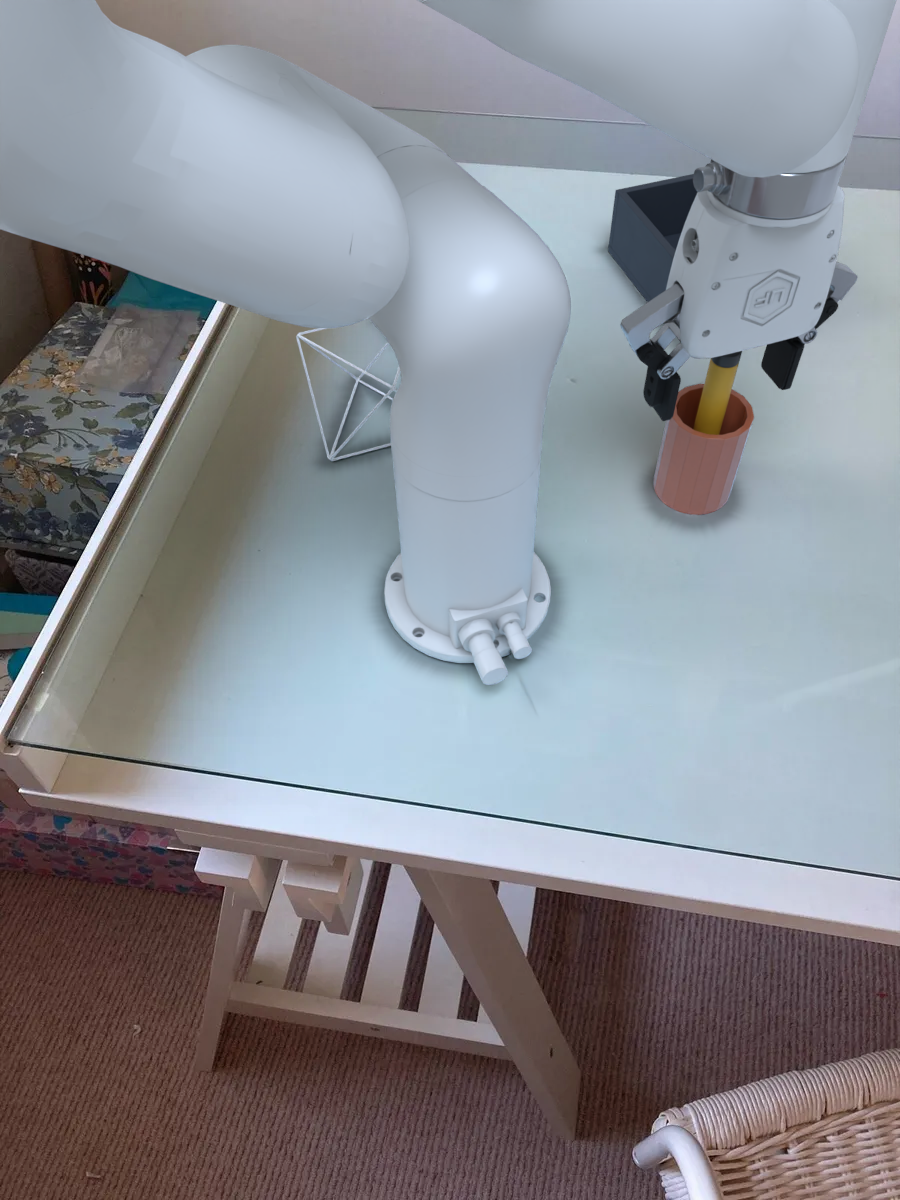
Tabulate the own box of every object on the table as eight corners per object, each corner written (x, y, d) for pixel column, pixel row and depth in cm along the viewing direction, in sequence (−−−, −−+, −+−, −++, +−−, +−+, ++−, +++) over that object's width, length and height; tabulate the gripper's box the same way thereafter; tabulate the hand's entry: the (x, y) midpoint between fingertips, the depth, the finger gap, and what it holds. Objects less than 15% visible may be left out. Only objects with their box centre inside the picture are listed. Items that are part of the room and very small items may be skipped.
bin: (805, 314, 94) (826, 252, 88) (680, 344, 91) (693, 282, 86) (723, 225, 103) (737, 164, 98) (607, 250, 101) (615, 189, 95)
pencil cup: (741, 509, 78) (769, 427, 71) (673, 529, 77) (694, 447, 70) (705, 459, 82) (728, 376, 75) (639, 477, 81) (656, 394, 74)
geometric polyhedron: (375, 491, 80) (366, 407, 73) (284, 433, 85) (268, 349, 77) (469, 413, 86) (470, 329, 79) (380, 363, 90) (373, 279, 83)
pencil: (708, 491, 78) (747, 353, 67) (686, 497, 78) (722, 359, 67) (696, 475, 80) (733, 336, 68) (675, 481, 79) (708, 342, 68)
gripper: (672, 233, 54) (632, 455, 67) (936, 174, 57) (847, 398, 70) (615, 168, 58) (589, 388, 72) (864, 116, 61) (793, 337, 75)
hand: (717, 393), depth 71 cm, fingers open, 9 cm apart
